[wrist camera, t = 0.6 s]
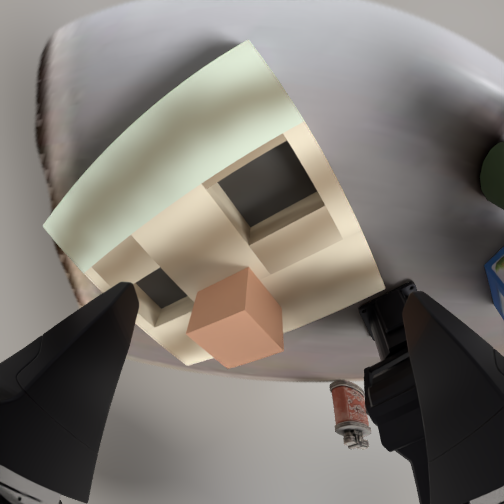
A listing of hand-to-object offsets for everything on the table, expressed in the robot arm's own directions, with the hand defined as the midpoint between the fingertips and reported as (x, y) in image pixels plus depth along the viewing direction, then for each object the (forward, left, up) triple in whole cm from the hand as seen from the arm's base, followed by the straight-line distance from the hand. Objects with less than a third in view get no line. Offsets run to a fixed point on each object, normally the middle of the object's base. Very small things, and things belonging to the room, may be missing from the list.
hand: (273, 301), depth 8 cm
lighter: (-34, +6, -14) cm, 37 cm away
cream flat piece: (-2, +7, -14) cm, 16 cm away
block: (-7, +7, -11) cm, 15 cm away
